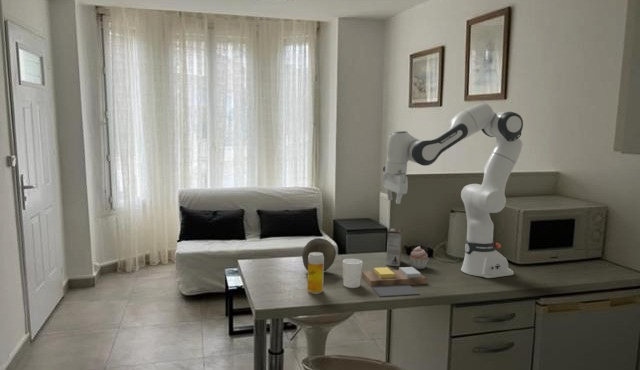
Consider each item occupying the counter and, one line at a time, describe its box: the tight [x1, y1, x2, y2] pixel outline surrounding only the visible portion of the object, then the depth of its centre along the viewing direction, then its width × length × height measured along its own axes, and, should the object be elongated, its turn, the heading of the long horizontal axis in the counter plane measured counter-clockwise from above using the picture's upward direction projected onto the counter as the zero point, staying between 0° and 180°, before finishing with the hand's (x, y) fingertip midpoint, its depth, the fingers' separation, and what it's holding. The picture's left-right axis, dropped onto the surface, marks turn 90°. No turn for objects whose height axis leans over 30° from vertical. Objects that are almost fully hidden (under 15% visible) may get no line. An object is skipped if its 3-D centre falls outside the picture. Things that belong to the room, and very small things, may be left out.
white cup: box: [342, 258, 363, 289], centre depth 191 cm, size 8×8×10 cm
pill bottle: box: [307, 252, 325, 295], centre depth 183 cm, size 6×6×15 cm
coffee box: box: [385, 227, 403, 267], centre depth 223 cm, size 9×6×16 cm
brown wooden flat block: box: [361, 269, 428, 288], centre depth 199 cm, size 24×12×2 cm, turn 102°
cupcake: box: [408, 245, 430, 270], centre depth 217 cm, size 9×9×10 cm
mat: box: [370, 284, 421, 298], centre depth 186 cm, size 16×11×1 cm
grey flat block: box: [398, 266, 422, 278], centre depth 200 cm, size 6×9×2 cm, turn 12°
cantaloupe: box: [301, 237, 337, 272], centre depth 206 cm, size 14×14×15 cm
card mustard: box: [373, 266, 395, 278], centre depth 198 cm, size 6×9×2 cm, turn 12°
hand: (393, 201), depth 203 cm, fingers open, 8 cm apart
